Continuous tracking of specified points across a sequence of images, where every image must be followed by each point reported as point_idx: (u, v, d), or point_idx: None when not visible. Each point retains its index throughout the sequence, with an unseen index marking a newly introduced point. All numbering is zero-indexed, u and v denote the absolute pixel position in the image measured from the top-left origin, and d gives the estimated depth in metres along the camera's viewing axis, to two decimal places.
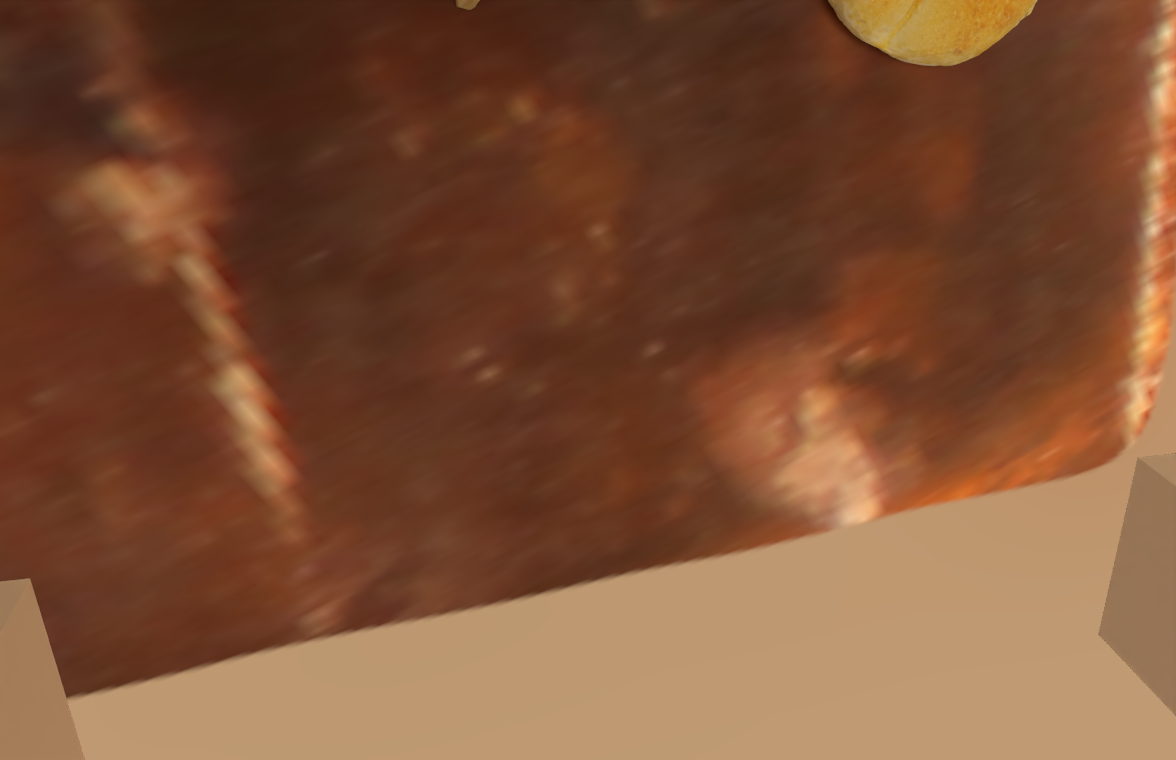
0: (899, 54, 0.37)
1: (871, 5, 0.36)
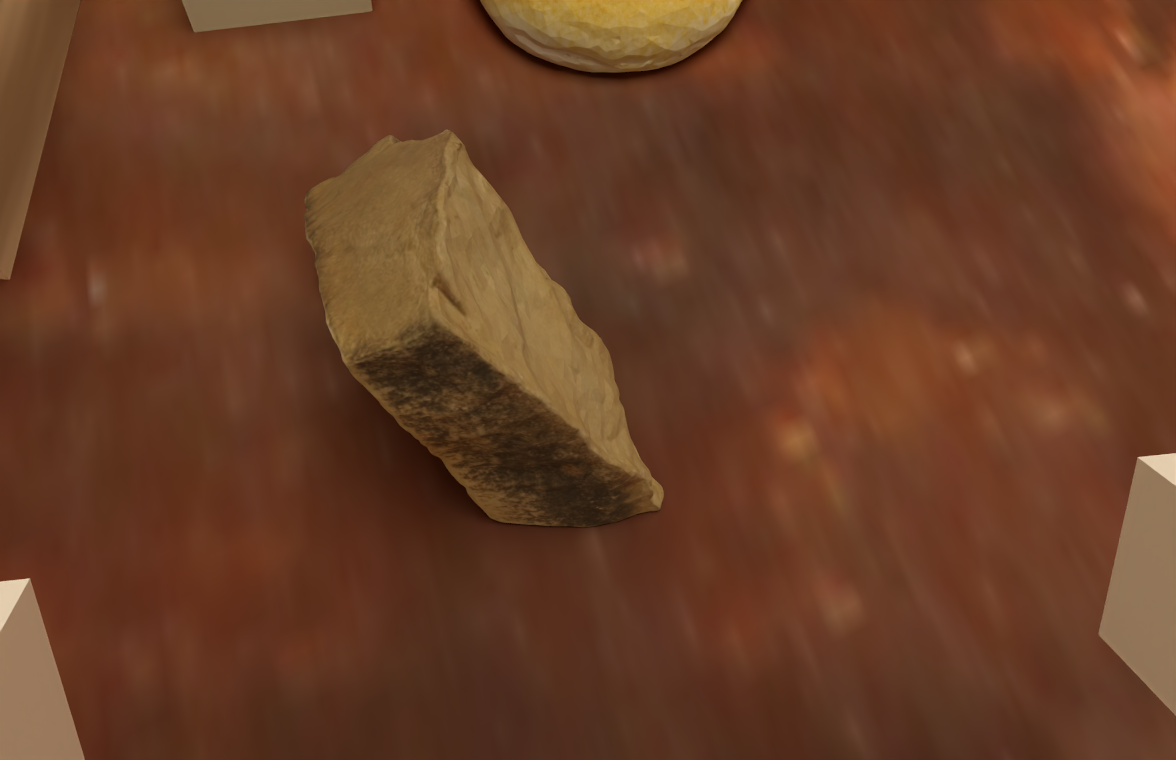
0: None
1: None
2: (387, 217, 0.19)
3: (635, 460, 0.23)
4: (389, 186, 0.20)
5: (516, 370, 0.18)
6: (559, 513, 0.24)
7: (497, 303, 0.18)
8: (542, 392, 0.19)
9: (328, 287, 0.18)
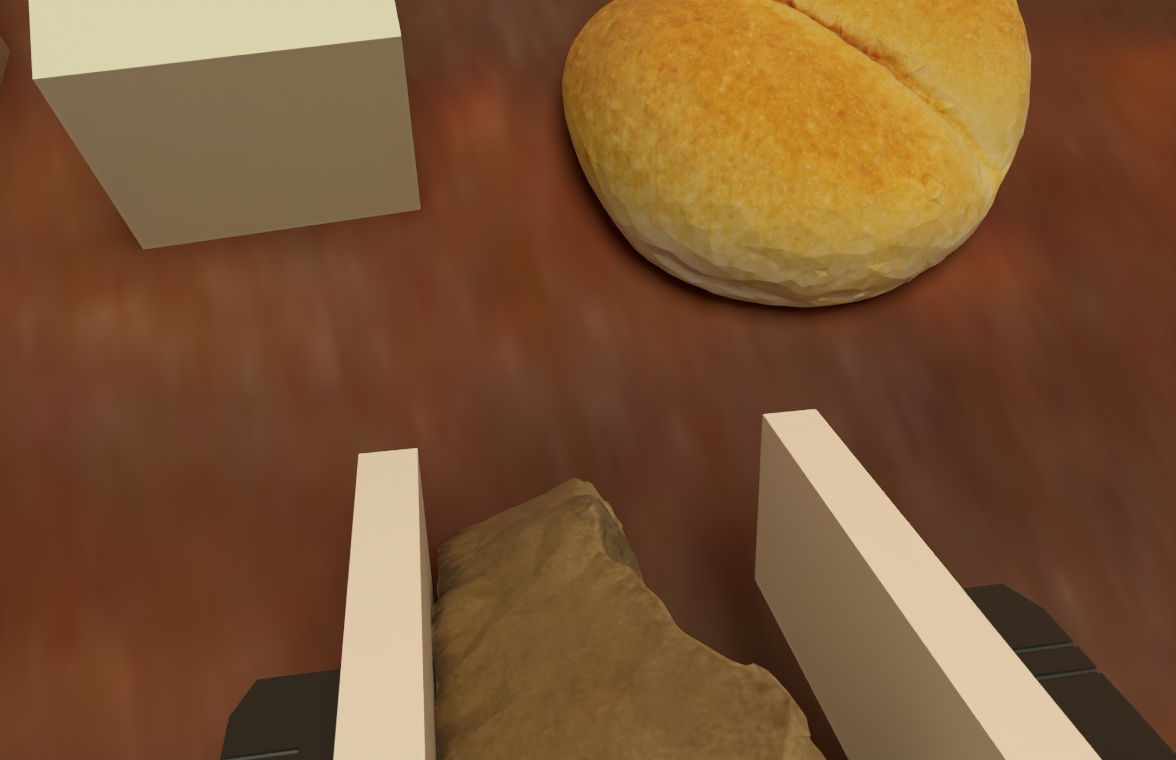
0: (1014, 148, 0.19)
1: (948, 189, 0.18)
2: None
3: None
4: None
5: None
6: None
7: None
8: None
9: None
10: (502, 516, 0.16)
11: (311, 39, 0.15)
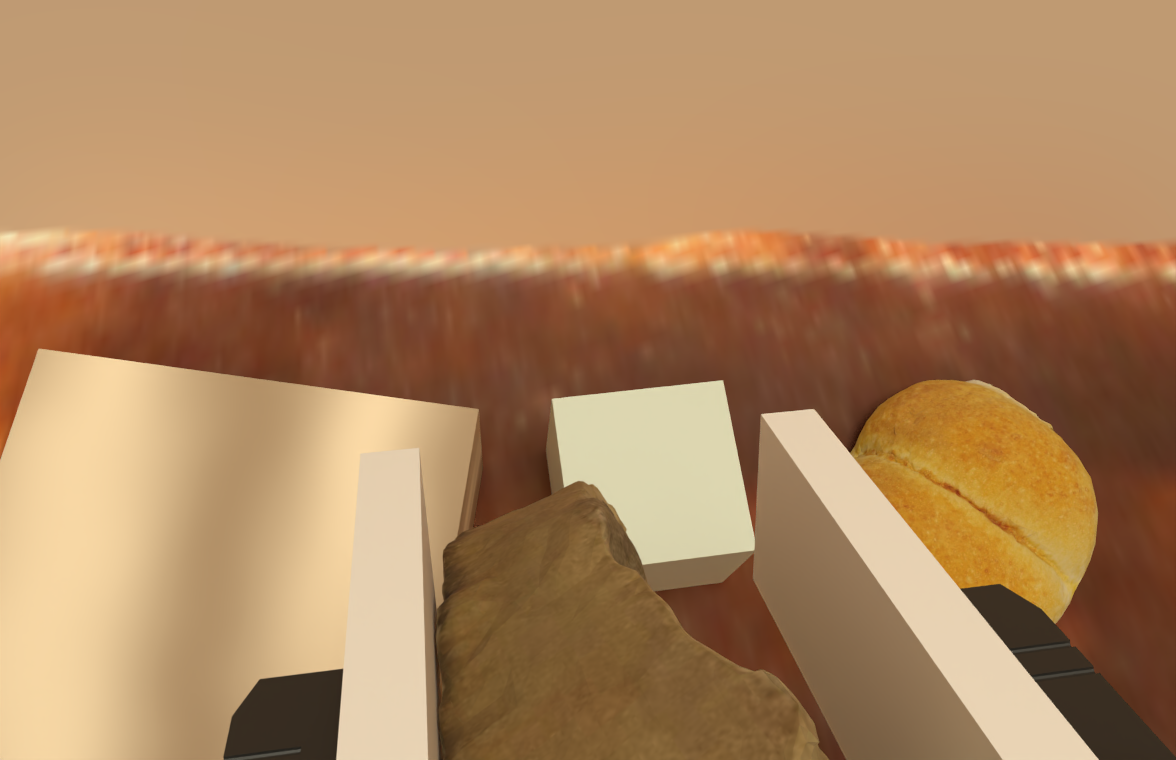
0: (1084, 569, 0.32)
1: (1045, 609, 0.31)
2: None
3: None
4: None
5: None
6: None
7: None
8: None
9: None
10: (507, 518, 0.16)
11: (711, 550, 0.28)
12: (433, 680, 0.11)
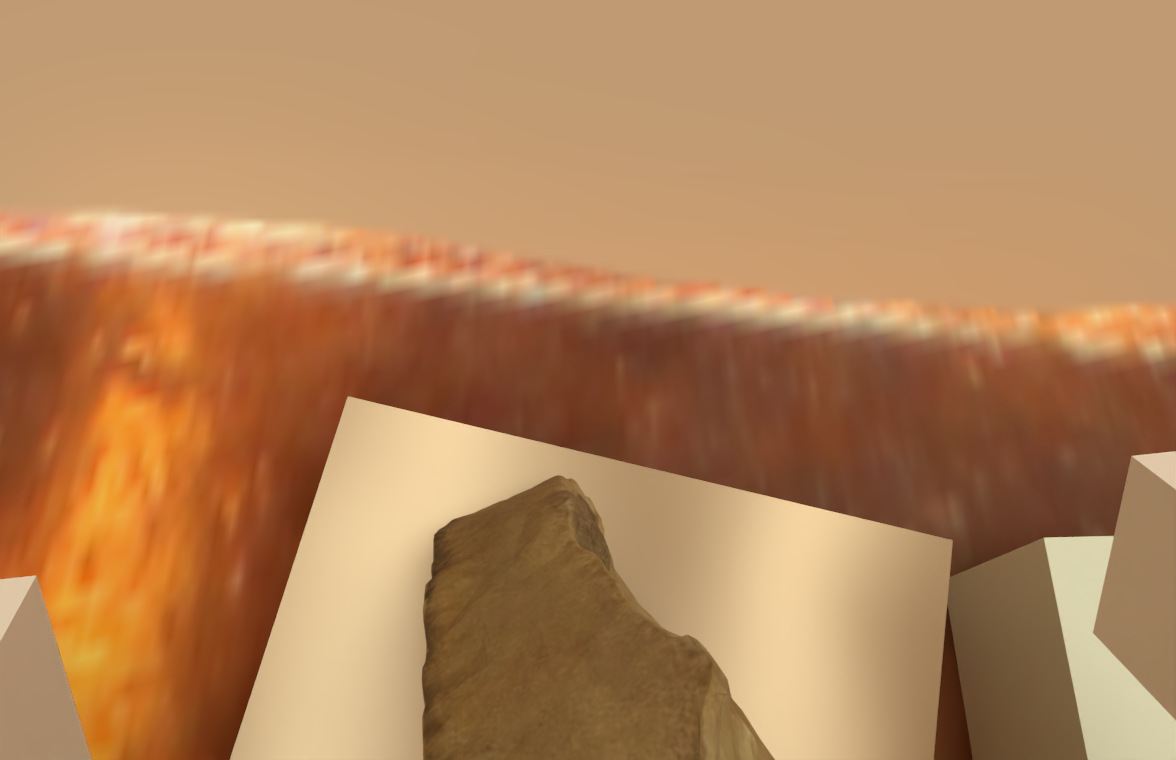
0: None
1: None
2: None
3: None
4: (586, 738, 0.11)
5: None
6: None
7: None
8: None
9: None
10: (492, 507, 0.17)
11: None
12: None
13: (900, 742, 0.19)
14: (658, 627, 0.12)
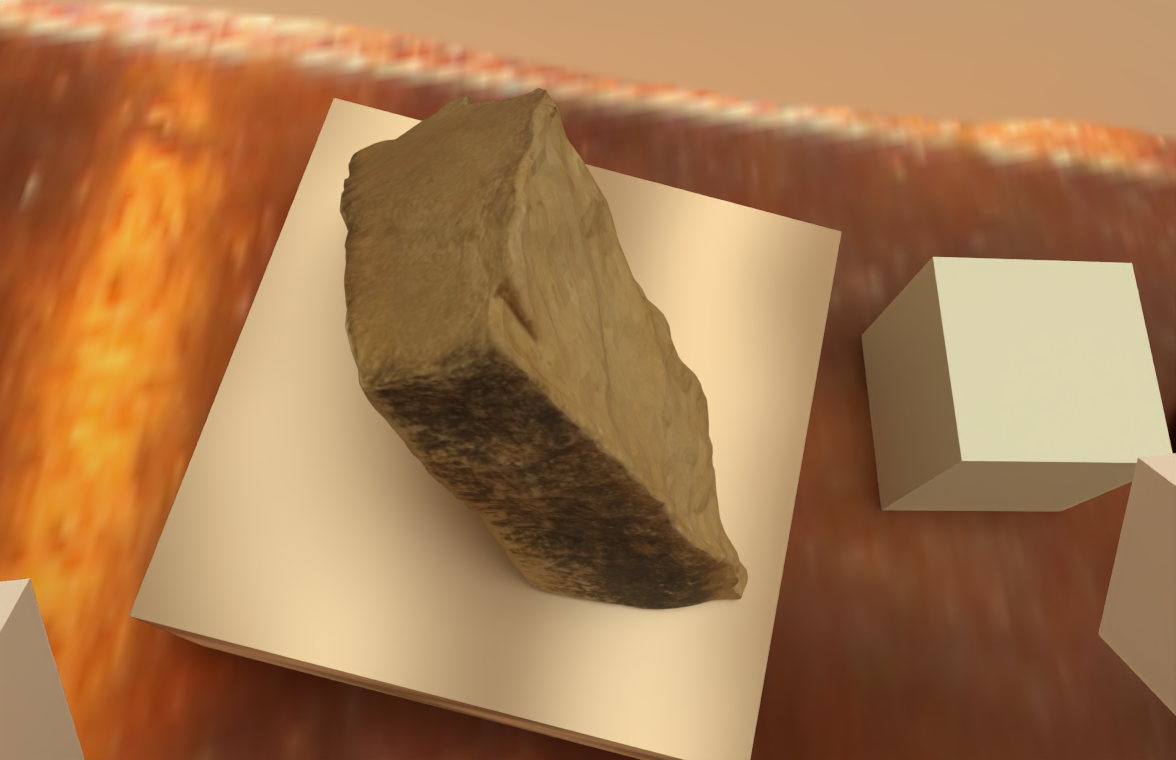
0: None
1: None
2: (447, 194, 0.14)
3: (723, 540, 0.18)
4: (455, 154, 0.15)
5: (595, 422, 0.13)
6: (617, 591, 0.19)
7: (580, 326, 0.14)
8: (625, 453, 0.14)
9: (356, 278, 0.14)
10: None
11: (1121, 456, 0.23)
12: None
13: (786, 379, 0.22)
14: (514, 99, 0.15)
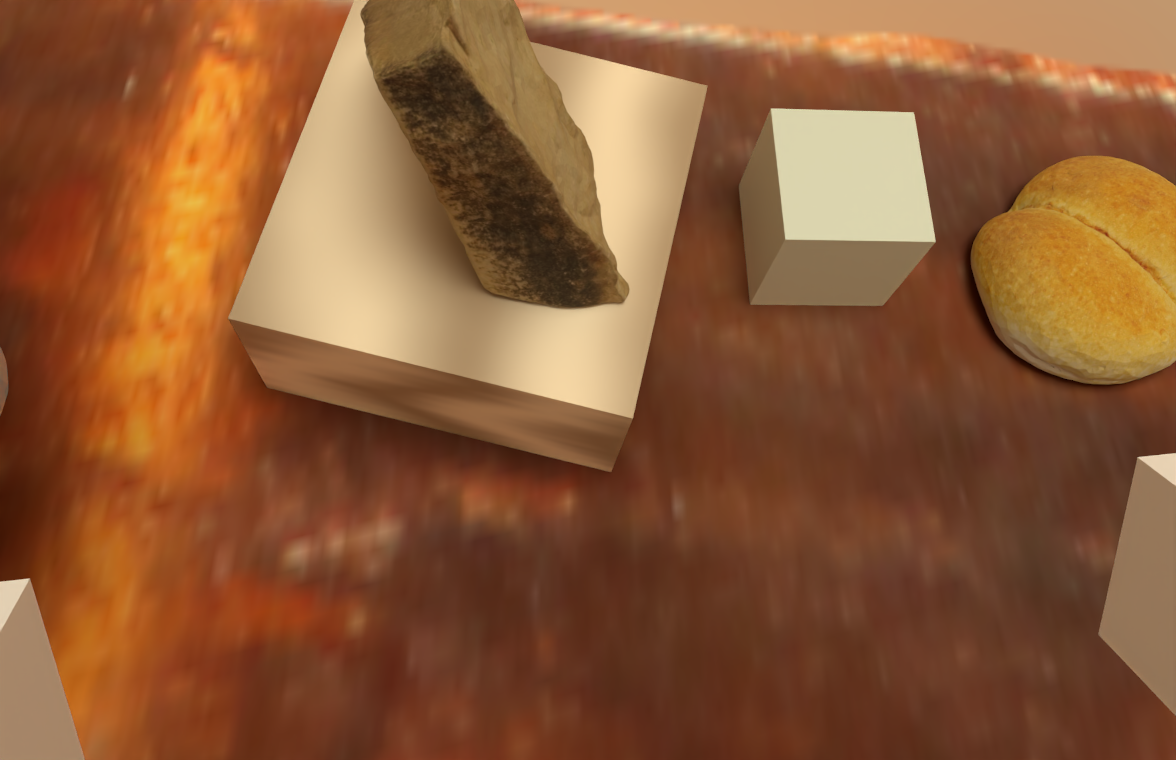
0: None
1: (1171, 338, 0.36)
2: None
3: (603, 242, 0.29)
4: None
5: (504, 112, 0.24)
6: (539, 286, 0.30)
7: (496, 62, 0.24)
8: (523, 137, 0.24)
9: (370, 36, 0.24)
10: None
11: (897, 237, 0.34)
12: None
13: (666, 180, 0.33)
14: None
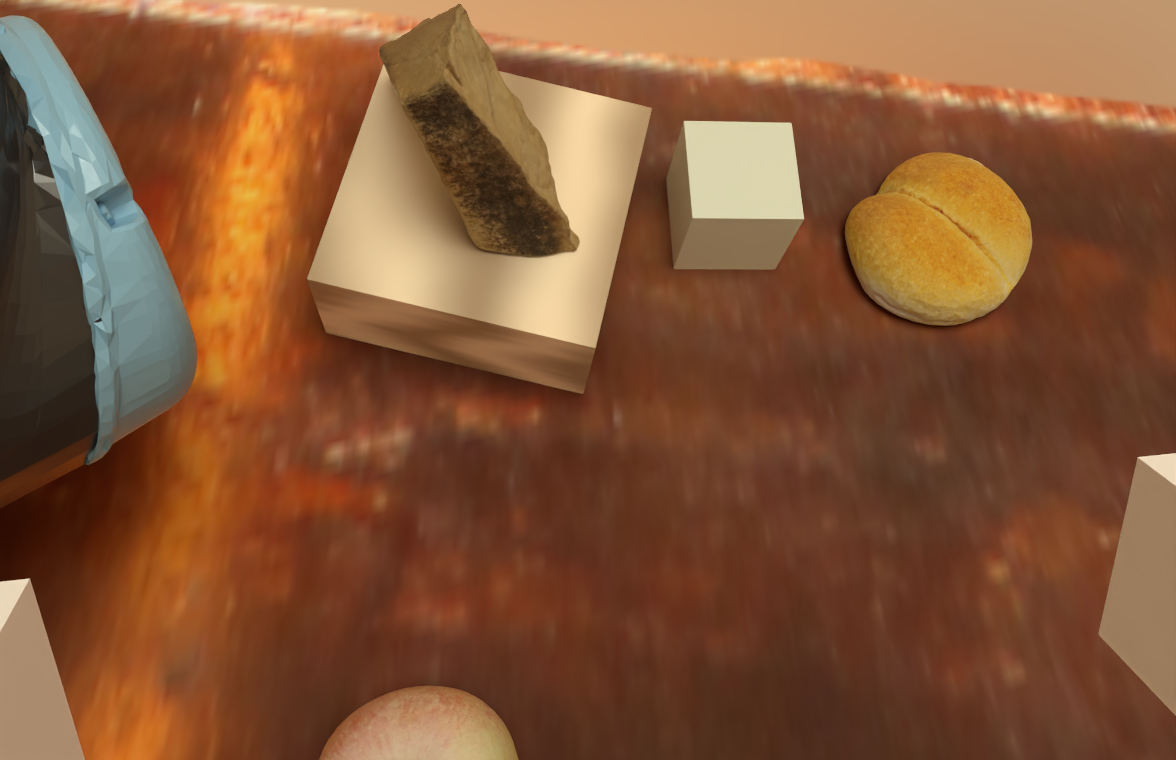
0: (1019, 276, 0.50)
1: (989, 289, 0.49)
2: (425, 43, 0.37)
3: (558, 207, 0.41)
4: (427, 31, 0.38)
5: (486, 120, 0.36)
6: (515, 241, 0.42)
7: (479, 88, 0.36)
8: (500, 136, 0.37)
9: (394, 76, 0.36)
10: None
11: (776, 216, 0.46)
12: None
13: (620, 178, 0.45)
14: (449, 10, 0.38)
